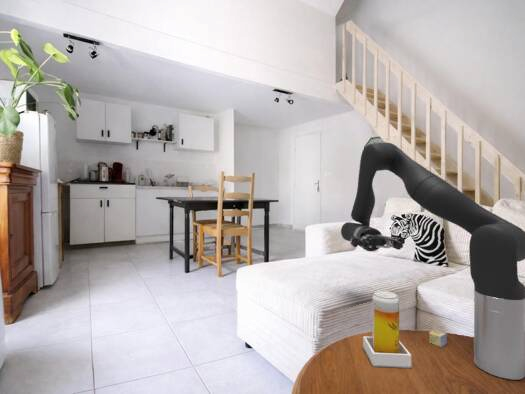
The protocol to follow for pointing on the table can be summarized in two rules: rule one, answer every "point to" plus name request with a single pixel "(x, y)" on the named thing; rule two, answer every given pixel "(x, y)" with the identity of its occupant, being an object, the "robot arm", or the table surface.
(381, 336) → the beer can
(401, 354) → the white square tray
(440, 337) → the alphabet block
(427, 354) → the table surface
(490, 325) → the robot arm
